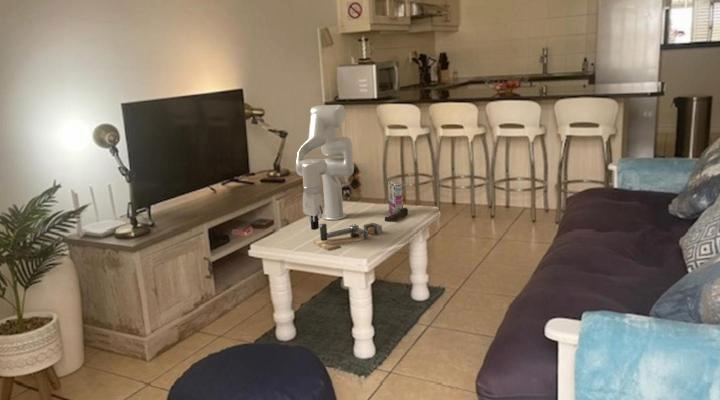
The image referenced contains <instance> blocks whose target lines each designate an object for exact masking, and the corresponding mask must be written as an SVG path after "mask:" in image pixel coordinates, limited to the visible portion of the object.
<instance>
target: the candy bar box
mask: <svg viewBox="0 0 720 400" xmlns="http://www.w3.org/2000/svg"><path fill="white" fill-rule="evenodd" d="M387 185H388V187H387V189H388V213H390V214H391V215H393V214H395V213H397V212H399V211H400V209H402V208H404V194H403V193H404V191H403V184H402V183H400V182H398V181H388V182H387Z"/></svg>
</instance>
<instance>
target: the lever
mask: <svg viewBox="0 0 720 400" xmlns="http://www.w3.org/2000/svg"><path fill="white" fill-rule="evenodd" d="M359 226H360V225H358V224H356V223H353V224H351V225H349V227H348V228H343V229H340V230H335V231H329V232H328V230H327V229H328V228H327V227H328V226H327V223H320V224H319V233H320V235H319V236H320V240H322V241H325V240H328V239H327V238H331V237H335V236H339V235H344V234H348V233H350V236H351V237H357V236H359V235H361V234H363V237H364V238H366V239H369V236H368V231H366V230H364V228H360V227H359ZM366 239H365V240H366Z"/></svg>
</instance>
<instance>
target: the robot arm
mask: <svg viewBox="0 0 720 400" xmlns="http://www.w3.org/2000/svg"><path fill="white" fill-rule="evenodd" d="M309 114H310V119H309V129H308V130H309V131H308V138H307V140H306V141H305V142H303V144H301V146H300V147H299V149H298V151H297V152H296V153H297V154H296V160H295V171H296V174H297V175H298V176H301V177H302V186H303V193H302V212H303V214H305V215H306V216H308V217H309V221H310V228H311V230H313V231H316V230H320V224H319V223H320V222H319V221H320V219H323V220H325V221H326V220H327V221H337V220H344V219H345V218H346V217H347V214H346V213H345V212H344V206H343V191H342V183H341V181H340V180H339V178H338V177H349V176H350V177H351V176H353V174H354V172H355V171H354V170H355V164H354V153H353V143H352V140H351V138H350V137H348V136H338V134H337V128H339V127H341V126H342V124H343V123H344V121H345V119H346V115H347V114H346V108H345V107H344V105H342V104H323V105H322V104H321V105H315V106H312V107H311V108H310V111H309ZM318 148H320V149H321V150H320V151H321V153H322V154H323V155H324V156H327V158H323V159H320V158H315V159H314V158H312V159H311V158H310V159H307V158H306V156H307V155H308V154H309V153H310V152H313V151H314V150H316V149H318ZM331 156H332V157H331ZM333 156H342V157H333ZM305 158H306V159H305ZM320 177H321V178H322V188H323V189H322V190H323V197H322V194H321V181H320V180H321V178H320ZM323 202H324V203H323Z"/></svg>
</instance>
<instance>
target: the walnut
mask: <svg viewBox="0 0 720 400" xmlns="http://www.w3.org/2000/svg"><path fill="white" fill-rule="evenodd" d="M367 231H368V233H369V234H371V235H372V234H374V233H375V228H374V227H369V228H368V230H367Z"/></svg>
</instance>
